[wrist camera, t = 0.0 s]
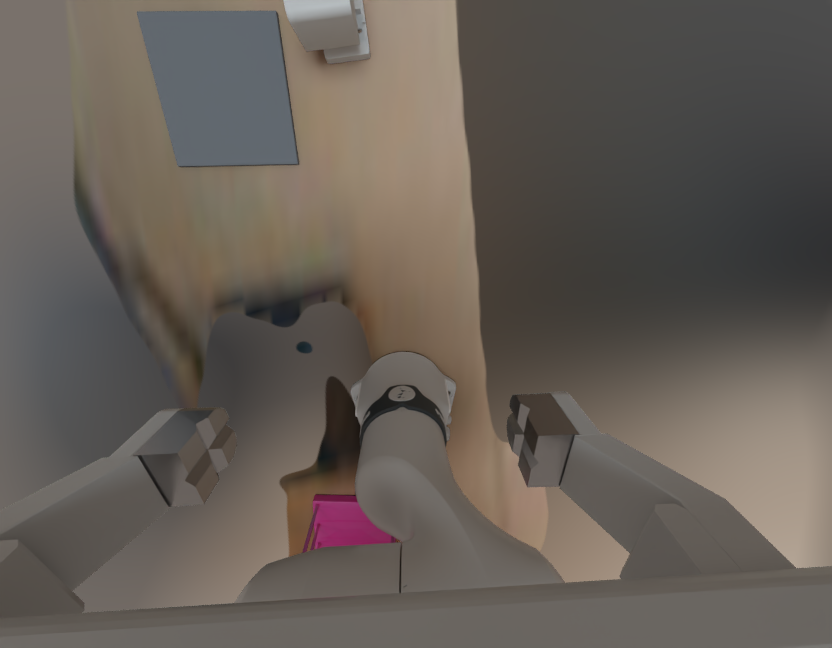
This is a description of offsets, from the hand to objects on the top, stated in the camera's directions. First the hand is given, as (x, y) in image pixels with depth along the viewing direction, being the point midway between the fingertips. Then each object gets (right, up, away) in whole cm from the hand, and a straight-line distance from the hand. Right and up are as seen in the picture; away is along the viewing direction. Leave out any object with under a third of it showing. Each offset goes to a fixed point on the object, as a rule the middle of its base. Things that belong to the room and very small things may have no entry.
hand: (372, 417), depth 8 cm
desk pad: (-23, +32, +29) cm, 49 cm away
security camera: (-8, +38, +27) cm, 48 cm away
